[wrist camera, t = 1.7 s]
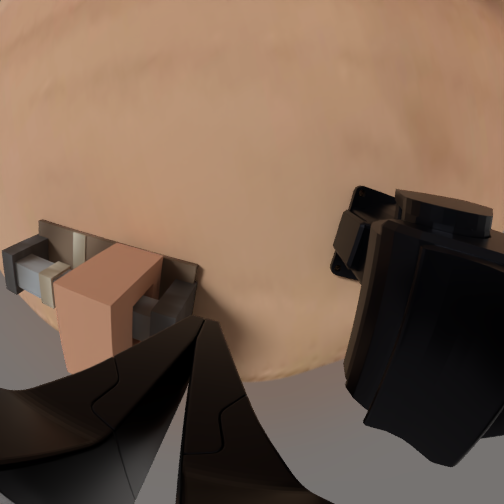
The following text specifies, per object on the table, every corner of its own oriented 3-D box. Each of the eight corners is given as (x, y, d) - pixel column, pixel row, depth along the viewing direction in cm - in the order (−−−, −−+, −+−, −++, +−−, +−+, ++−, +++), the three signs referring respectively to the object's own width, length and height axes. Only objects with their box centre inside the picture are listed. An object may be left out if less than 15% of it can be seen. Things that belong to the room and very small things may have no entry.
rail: (200, 264, 21) (178, 298, 15) (188, 333, 23) (169, 375, 17) (40, 218, 20) (0, 234, 15) (43, 279, 22) (9, 302, 17)
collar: (163, 255, 20) (110, 306, 12) (155, 332, 22) (116, 395, 15) (116, 242, 20) (53, 282, 12) (114, 317, 22) (67, 371, 15)
